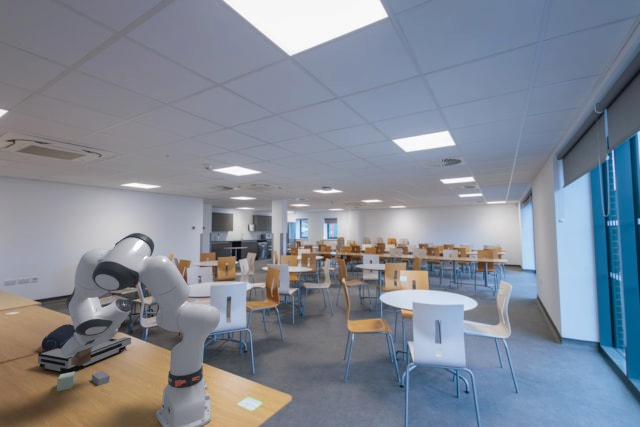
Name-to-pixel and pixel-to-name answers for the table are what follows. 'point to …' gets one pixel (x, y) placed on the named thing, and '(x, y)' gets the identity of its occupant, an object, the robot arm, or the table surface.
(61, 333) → the portable speaker
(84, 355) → the walnut column
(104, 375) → the grey flat brick
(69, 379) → the sage cube
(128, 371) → the table surface
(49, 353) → the game console
